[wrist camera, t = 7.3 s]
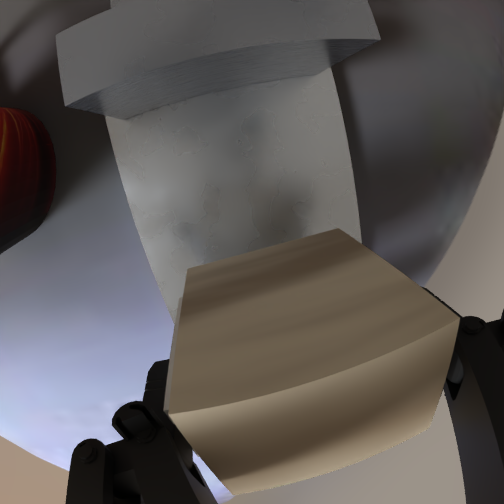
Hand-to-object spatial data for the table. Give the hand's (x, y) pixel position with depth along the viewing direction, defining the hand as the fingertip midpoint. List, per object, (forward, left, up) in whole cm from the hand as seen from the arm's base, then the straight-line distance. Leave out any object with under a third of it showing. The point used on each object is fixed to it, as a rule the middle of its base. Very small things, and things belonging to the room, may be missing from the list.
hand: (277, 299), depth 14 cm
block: (0, 0, 0) cm, 0 cm away
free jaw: (-14, +1, -4) cm, 15 cm away
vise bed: (-5, 0, -6) cm, 8 cm away
